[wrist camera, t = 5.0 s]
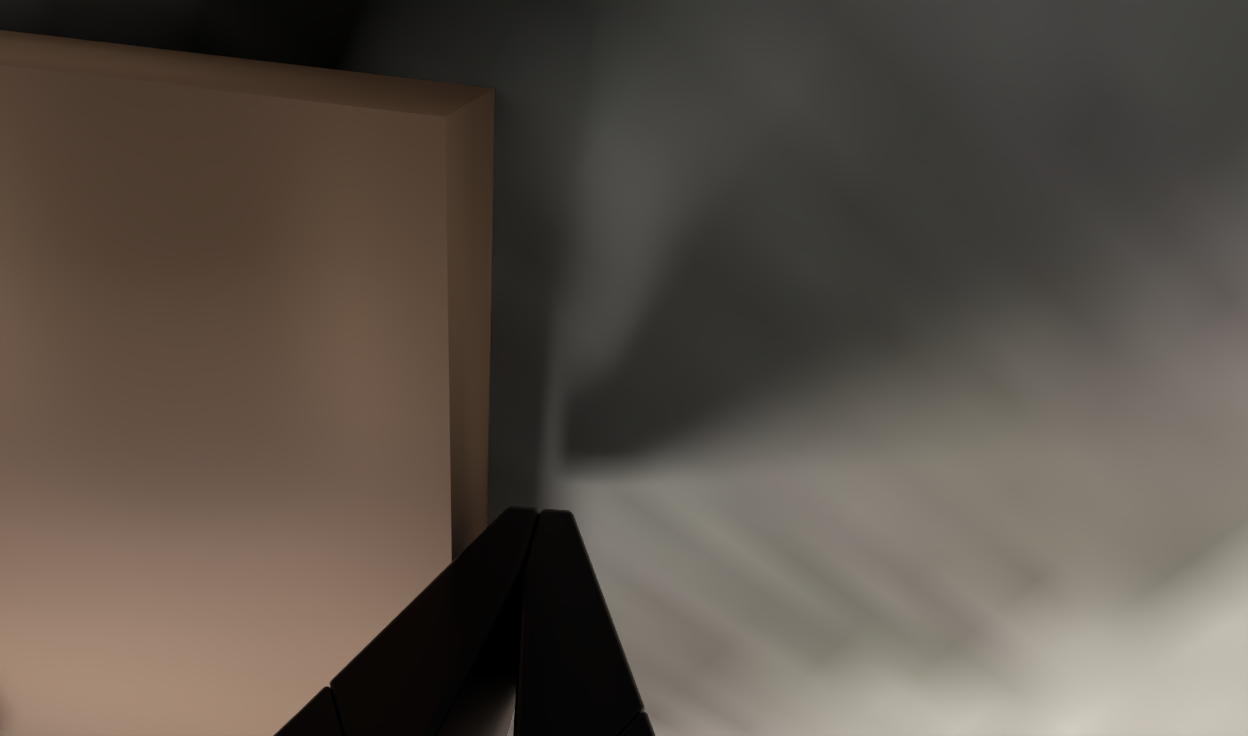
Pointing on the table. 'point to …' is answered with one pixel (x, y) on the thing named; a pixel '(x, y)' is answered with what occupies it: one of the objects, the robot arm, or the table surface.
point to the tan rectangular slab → (228, 376)
